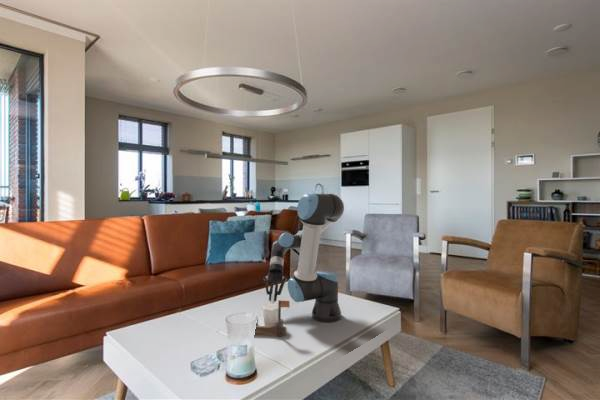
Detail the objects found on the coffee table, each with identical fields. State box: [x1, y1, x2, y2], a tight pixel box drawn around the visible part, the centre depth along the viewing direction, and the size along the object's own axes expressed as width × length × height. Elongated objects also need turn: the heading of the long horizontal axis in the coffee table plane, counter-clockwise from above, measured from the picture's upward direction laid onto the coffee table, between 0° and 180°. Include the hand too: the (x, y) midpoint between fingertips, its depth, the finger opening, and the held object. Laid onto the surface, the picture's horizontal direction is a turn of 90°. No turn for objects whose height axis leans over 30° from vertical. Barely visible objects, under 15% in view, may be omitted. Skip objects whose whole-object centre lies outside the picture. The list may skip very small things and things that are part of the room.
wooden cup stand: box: [254, 299, 290, 338], centre depth 149 cm, size 12×20×16 cm, turn 86°
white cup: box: [262, 303, 278, 327], centre depth 152 cm, size 8×8×10 cm
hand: (271, 306), depth 163 cm, fingers closed
